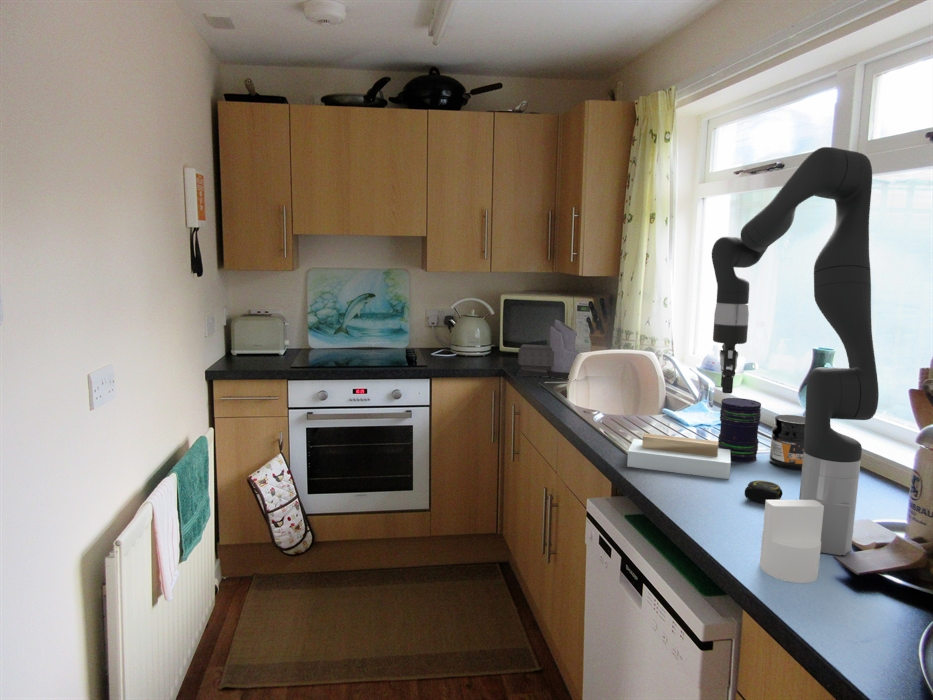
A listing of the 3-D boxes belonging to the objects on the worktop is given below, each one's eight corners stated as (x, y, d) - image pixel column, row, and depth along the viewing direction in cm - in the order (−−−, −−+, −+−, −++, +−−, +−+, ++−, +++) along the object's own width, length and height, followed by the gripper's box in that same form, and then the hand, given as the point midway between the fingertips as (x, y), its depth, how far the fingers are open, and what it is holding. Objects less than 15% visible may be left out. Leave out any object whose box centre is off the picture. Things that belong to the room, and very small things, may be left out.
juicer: (586, 374, 296) (588, 319, 292) (585, 381, 280) (587, 322, 277) (518, 370, 302) (520, 316, 298) (513, 377, 286) (515, 320, 283)
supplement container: (768, 466, 170) (772, 420, 168) (769, 455, 180) (773, 412, 178) (814, 473, 166) (819, 426, 164) (813, 461, 175) (817, 417, 173)
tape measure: (742, 501, 146) (743, 485, 146) (752, 493, 152) (753, 477, 151) (775, 509, 142) (777, 492, 142) (784, 500, 147) (786, 484, 147)
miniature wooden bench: (716, 470, 165) (718, 444, 164) (641, 461, 171) (642, 436, 170) (716, 466, 168) (718, 441, 167) (642, 457, 175) (644, 433, 174)
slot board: (729, 479, 160) (730, 463, 160) (627, 466, 169) (628, 451, 168) (729, 464, 171) (730, 449, 171) (633, 453, 180) (633, 438, 179)
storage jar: (714, 458, 176) (718, 403, 174) (719, 449, 185) (723, 396, 183) (755, 465, 172) (760, 408, 169) (758, 455, 180) (763, 400, 178)
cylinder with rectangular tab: (800, 558, 119) (806, 493, 117) (829, 583, 110) (836, 513, 109) (750, 558, 119) (755, 493, 117) (775, 583, 110) (781, 513, 108)
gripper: (750, 325, 151) (745, 396, 153) (745, 321, 164) (741, 386, 166) (714, 324, 153) (710, 394, 155) (713, 319, 166) (709, 384, 168)
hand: (726, 390), depth 160 cm, fingers open, 8 cm apart
